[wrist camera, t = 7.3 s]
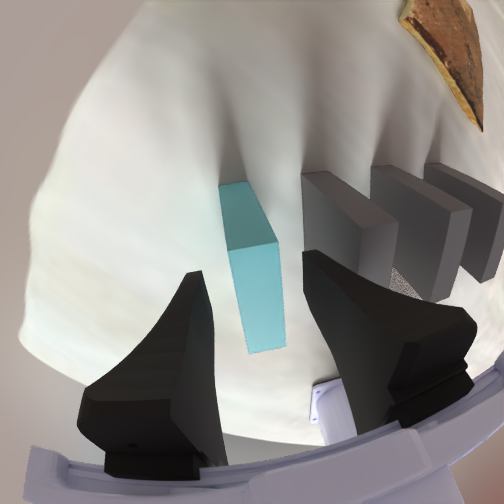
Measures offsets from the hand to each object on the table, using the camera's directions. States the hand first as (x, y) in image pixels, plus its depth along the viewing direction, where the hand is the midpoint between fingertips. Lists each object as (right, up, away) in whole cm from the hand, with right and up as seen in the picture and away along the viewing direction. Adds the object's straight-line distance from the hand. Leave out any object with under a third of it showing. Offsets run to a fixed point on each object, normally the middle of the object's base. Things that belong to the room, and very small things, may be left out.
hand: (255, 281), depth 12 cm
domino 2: (+4, +3, +5) cm, 7 cm away
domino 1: (-1, +3, +5) cm, 5 cm away
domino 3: (+8, +4, +5) cm, 10 cm away
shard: (+14, +16, 0) cm, 21 cm away
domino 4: (+12, +5, +5) cm, 15 cm away
